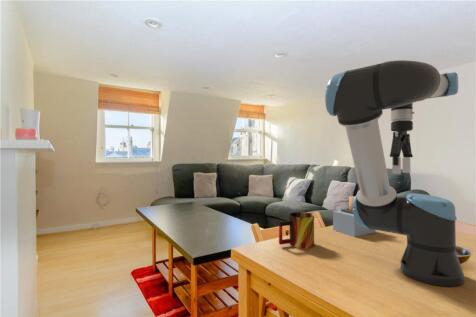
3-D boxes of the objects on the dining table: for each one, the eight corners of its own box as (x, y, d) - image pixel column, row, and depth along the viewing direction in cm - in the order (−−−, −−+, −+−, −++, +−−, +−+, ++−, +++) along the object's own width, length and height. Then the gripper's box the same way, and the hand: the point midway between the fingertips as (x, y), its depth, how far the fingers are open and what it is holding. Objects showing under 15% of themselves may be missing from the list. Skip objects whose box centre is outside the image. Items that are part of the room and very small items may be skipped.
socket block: (354, 237, 113) (354, 214, 113) (333, 230, 124) (333, 209, 124) (375, 232, 119) (375, 210, 119) (353, 226, 130) (353, 206, 130)
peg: (354, 219, 119) (354, 198, 119) (347, 218, 123) (347, 196, 122) (360, 218, 121) (360, 197, 121) (353, 217, 124) (353, 196, 124)
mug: (278, 247, 102) (278, 216, 102) (298, 238, 112) (298, 211, 112) (299, 253, 95) (299, 220, 95) (318, 244, 105) (318, 214, 104)
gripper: (403, 116, 95) (403, 174, 94) (420, 123, 112) (420, 172, 112) (380, 118, 100) (380, 174, 100) (400, 124, 117) (400, 171, 117)
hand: (401, 173), depth 106 cm, fingers open, 13 cm apart
